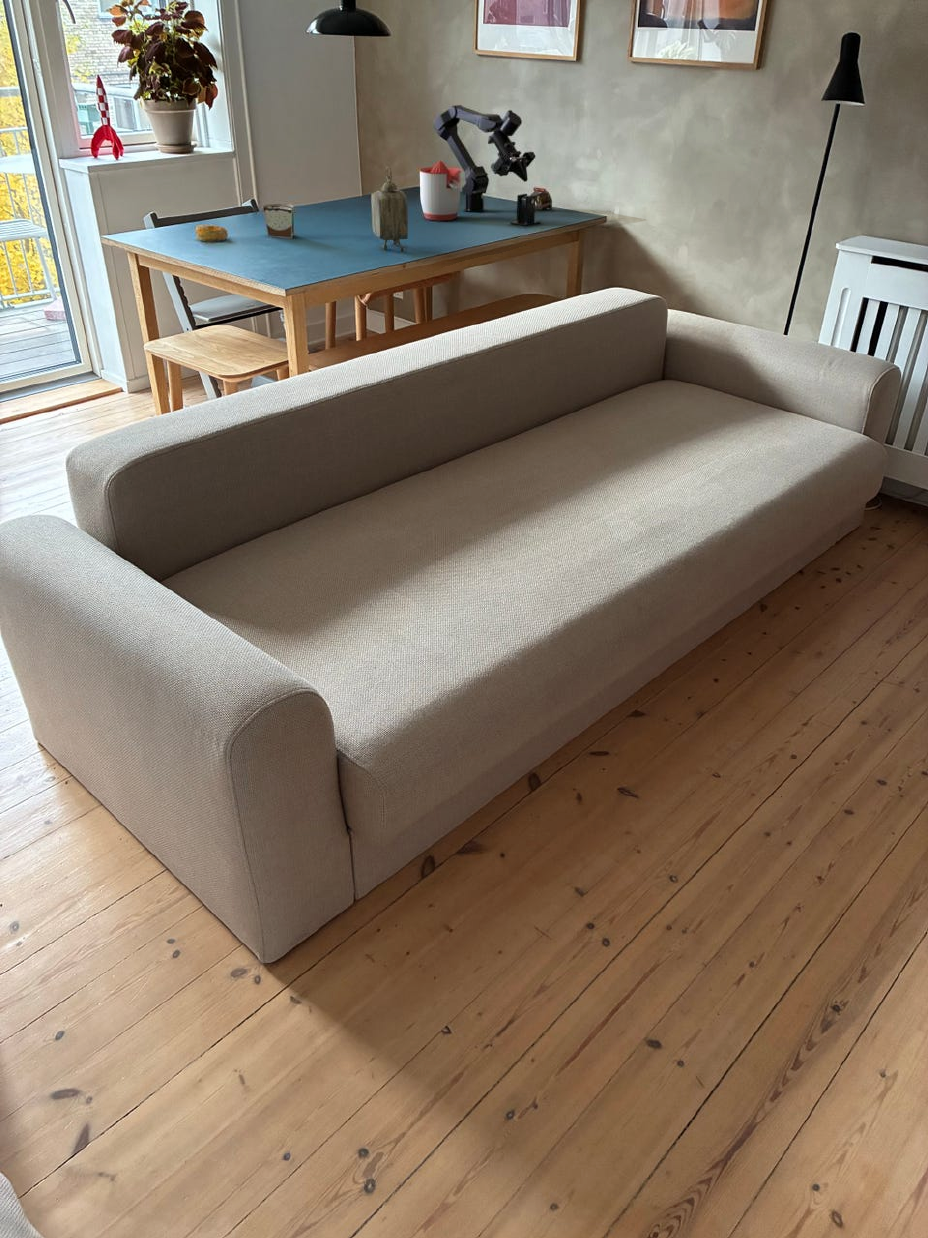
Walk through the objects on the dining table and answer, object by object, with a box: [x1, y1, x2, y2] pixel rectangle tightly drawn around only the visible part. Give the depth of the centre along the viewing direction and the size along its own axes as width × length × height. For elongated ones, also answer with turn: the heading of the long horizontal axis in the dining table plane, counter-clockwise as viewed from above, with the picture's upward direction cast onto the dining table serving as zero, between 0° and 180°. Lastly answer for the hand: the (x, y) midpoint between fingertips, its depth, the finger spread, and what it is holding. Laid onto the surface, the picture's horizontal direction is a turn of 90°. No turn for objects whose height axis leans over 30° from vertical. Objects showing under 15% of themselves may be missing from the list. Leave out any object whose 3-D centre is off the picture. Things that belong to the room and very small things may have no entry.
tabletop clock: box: [370, 166, 409, 253], centre depth 309 cm, size 14×9×25 cm, turn 17°
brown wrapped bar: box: [521, 186, 547, 206], centre depth 348 cm, size 10×5×2 cm, turn 137°
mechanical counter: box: [535, 190, 553, 211], centre depth 373 cm, size 7×13×10 cm
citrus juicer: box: [418, 160, 462, 222], centre depth 355 cm, size 16×17×20 cm
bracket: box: [509, 193, 541, 228], centre depth 348 cm, size 9×7×10 cm
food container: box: [261, 203, 296, 239], centre depth 330 cm, size 12×6×10 cm, turn 71°
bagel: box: [195, 224, 229, 243], centre depth 326 cm, size 10×11×5 cm
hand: (526, 180), depth 352 cm, fingers closed
